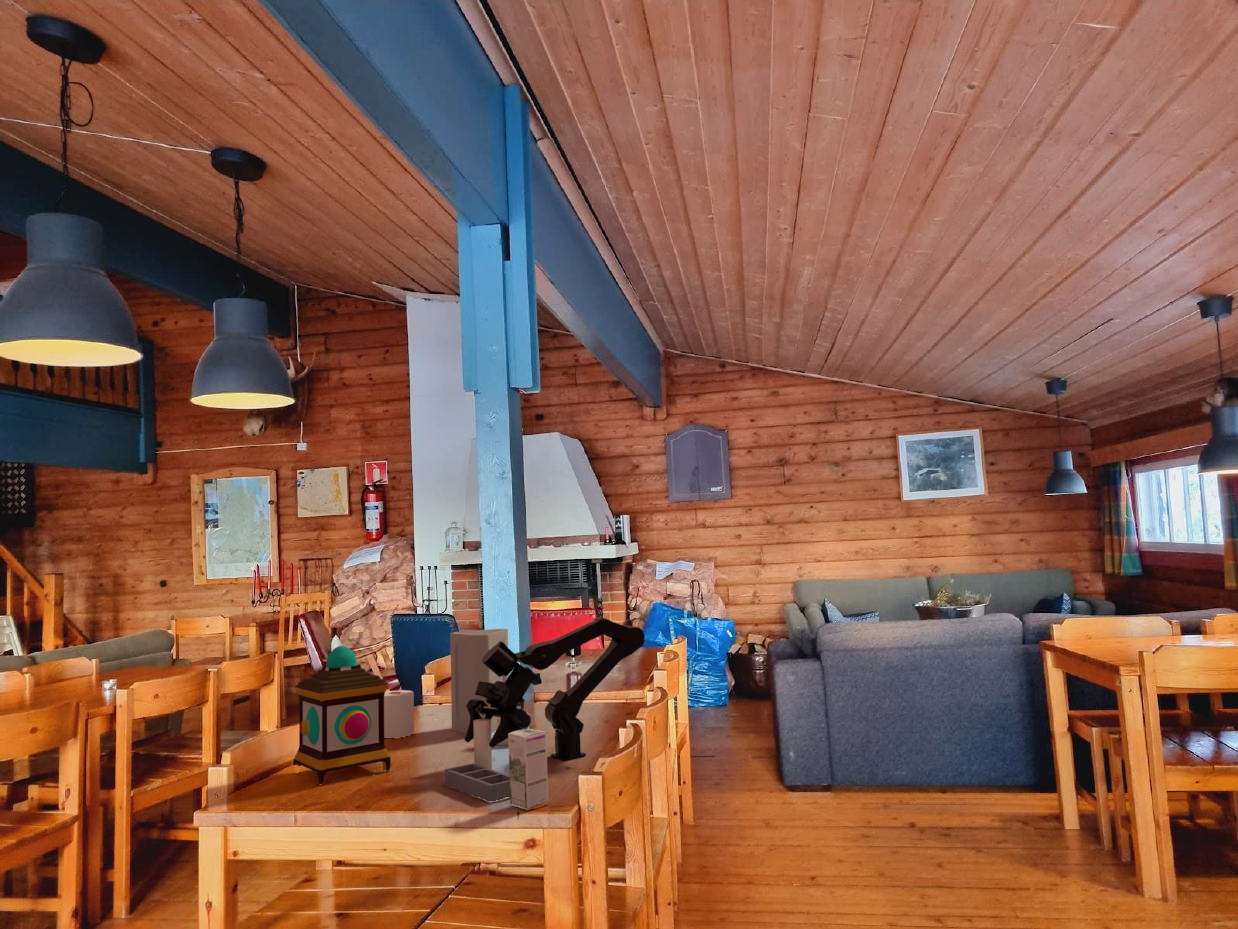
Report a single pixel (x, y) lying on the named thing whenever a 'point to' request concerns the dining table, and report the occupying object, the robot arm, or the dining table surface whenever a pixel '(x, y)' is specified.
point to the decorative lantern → (341, 717)
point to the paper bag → (471, 671)
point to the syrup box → (528, 767)
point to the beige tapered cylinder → (482, 743)
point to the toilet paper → (398, 713)
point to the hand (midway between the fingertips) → (478, 744)
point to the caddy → (478, 781)
